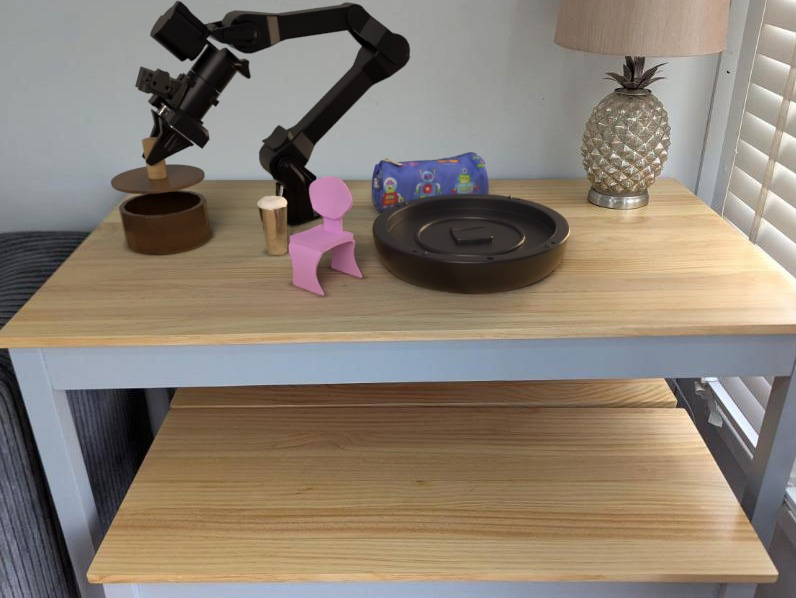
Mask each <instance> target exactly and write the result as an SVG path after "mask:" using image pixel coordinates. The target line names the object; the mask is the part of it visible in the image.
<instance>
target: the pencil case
mask: <svg viewBox="0 0 796 598" xmlns="http://www.w3.org/2000/svg"><path fill="white" fill-rule="evenodd" d="M446 194H490V181H489V174H488V170H487V167H486V162H485V160H484V158H482V156H480V155H478V154H477V153H476V152H474V151H469V152H465V153H462V154H458V155H454V156H450V157H442V158H438V159H425V160H423V159H421V160H419V159H418V160H409V161H408V160H407V161H396V160H392V159H390V158H387V157H384V158H383V159H382V160H379V162H378V163H376V164H375V165H374V169H373V172H372V177H371V201H372V205H373V209H374V210H376V211H377V212H378V213H382V212H384V211H385V210H387V209H389V208H391V207H393V206H395V205H398V204H400V203H403V202H406V201H410V200H414V199H418V198H423V197H429V196H436V195H446Z"/></svg>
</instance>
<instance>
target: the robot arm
mask: <svg viewBox="0 0 796 598" xmlns="http://www.w3.org/2000/svg"><path fill="white" fill-rule="evenodd" d="M346 31H347V32H348V34H350V35H351V37H352V38H353V39H354V40H355V42H357V44H359V45H360V48H359V49H358V51H357V53H356V55H355V59H354V60H353V61H354V62H353V63H352V65H351V67H350V68H349V69H348V70H347V71H346V72H345V73H344V74H343V75H342V76H341V77H340V78H339V80H338V81H337V82H336V83H335V84H334V85H333V86H332V87H330V88H329V90H328V91H327V92H326V93H325V94H324V95H323V96H322V97H321V98H320V99H319V100H318V101H317V102H316V103H315V105H313V106H312V107H311V108H310V109H309V110H308V111H307V113H305V114H304V115H303V117H302V118H301V119H300V120H299V121H298V122H297V123H296V124H294V125H293V126H291V127H288V128H287V129H286V128H285V127H283V126H282V125H280V124H278V125H277V126H276V127H275V128H274V129H273V131H272V132H271V133H270V135H268V136H267V137H266V138H264V139H262V140H261V143H263V144H262V146H261V147H260V149H259V150H258V161H259V164H260V166H261V167H262V169H263V170H264V171H265V172H267V173H268V174H269V175H270V176H271V177H272V180H274V181H276V182H274V184H275V185H274V186H275V196H279V194H280V186H281V185H282V186H283V191H282V197H283V198H285V199H286V201H287V225H290V226H298V225H301V224H304V223H307V222H310V221H313V220H317V219H319V218H321V217H322V215H320V214H319V213H318V212H316V211H315V210H314V209H313V207H312V203H311V199H310V195H309V188H310V185H311V183H312V182H314V181H315V180H317V179H318V178H317V175H315V174H314V173H313V172H312V171H311V170H309V169H308V168H307V167H306V166H307V164H308V163H309V162H310V159H311V156H312V154H313V151H314V149H315V147H316V145H317V144H318V142H319V141H320V140H321V139H323V137H324V136H325V135H327V134H328V132H329V131H330V130H331V129H332V128H333V127H334V126H335V125H336V124H337V123H338V122H339V121H340V120H341V119H342V118H343V117H344V115H345V114H347V113H348V112H349V110H351V108H352V107H353V106H354V105H356V103H357V102H358V101H360V99H361V98H362V97H363V96H364V95H365V94H366V93H367V92H368V91H369V90H370V89H371V88H372V87H373V86H375V85H376V84H378V83H381V82H383V81H385V80H387V79H389V78H391V77H392V76H393V75H395V74H397V73H398V72H399V71H400V70H402V69H403V68H404V67H405V66H406V65H407V64H408V63H409V61H410V59H411V47H410V43H409V42H408V39H407V38H406V37H405V36H404V35H402V34H400V33H396V32H392V31H391V30H390V29H389V28H388V27H386V26H385V25H384V24H383V23H382V22H380V21H379V20H378V19H376V18H375V17H373V16H372V14H370V13H369V12H368V11H367V10H366V9H365V8H364V6H362V5H361V4H358V3H355V2H348V1H346V2H343V3H341V4H335V5H329V6H328V5H327V6H321V7H313V8H307V9H300V10H292V11H284V12H278V13H276V12H265V11H264V12H263V11H254V10H253V11H252V10H237V9H235V10H231V11H228V12H227V13H226V14H224V16H223V18H222V19H221V20H217V21H213V22H208V23H204V22H203V21H202V20H201V19H199V18H198V17H197V16H196V15H195V14H194V13H193V12H192V11H191V10H190V9H189V7H188V6H186V4H185V3H184V2H182V1H181V0H176V1H175V2H174V4H173V5H172V6H171V7H168V9H167V10H166V11H165V12H164V13H163V14H161V15H159V17H158V18H157V20H156V22H155V23H154V24H153V26H152V28H151V30H150V33H149V37H151V38H152V39H153V40H154V41H156V43H158V44H159V45H160V46H161V47H163V48H164V49H165V50H166V51H167V52H169V53H170V54H171V55H173V56H174V57H175V58H176V59H177V60H178V61H180V62H181V63H182V62H185V61H186V60H189V61H190V62H194V63H193V64H192V66H191V67H190V69H189V70H188V71H187V73H185V72H182V73H180V74H178V75H177V77H176V78H174V77H172V76H171V75H170V73H169V72H168V71H166V70H163V69H161V68H156V69H155V70H153V69H151V68H147V67H144V66H139V70H138V74H137V78H136V82H135V84H134V85H135V86H134V87H135V88H137V90H138V91H140V92H141V93H145V94H148V95H149V94H151V96H150V98H149V99H148V100H147V102H148V104H149V105H151V106H152V107H154V108H156V109H157V110H154V109H153V108H151V109H150V112H151V116H152V120H153V125H152V129H151V131H150V135H149V137H157V139H156V141H155V143H154V145H153V147H152V149H151V151H150V153H149V155H148V157H147V159H146V161H145V164H146V163H147V164H149V165H150V166H153V165H154V164H156V163H158V162H160V161H162V160H164V159H165V160H166V159H167V158H170V157H172V156H174V155H176V154H177V153H180V152H181V151H184V150H185V149H188V148H190V147H191V148H192V147H194V145H196V146H197V147H199V148H200V149H204V148H205V147H206V145H207V144H208V142H209V141H210V140H211V139H210V131H209V129H207V128H206V127H205V126H203V125H204V124H205V122H204V121H202V120H203V119H204V118H205V116H206V115H207V113H208V112H209V111H210V109H211V108H212V107H213V106H214V107H215V108H217V106H218V105H219V104H220V100H218V99H219V97H220V96H221V95H222V93H223V92H224V91H225V89H226V88H227V87H228V85H229V84H230V82H231V81H232V80H233V79H234V77H235V76H236V74H237V73H238V74H239V75H240V76H242V77H244V78H245V79H246V80H247V79H248V80H250V79H251V78H252V75H251V71H250V60H249V59H247V58H239V57H238V56H237V55H236V54H235V53H234V52H232V51H231V50H230V49H229V48H228V47H230V48H231V49H234V50H235V51H237V52H239V53H242V54H247V55H251V54H255V53H258V52H261V51H263V50H266V49H269V48H272V47H274V46H275V45H276V44H279V43H281V42H283V41H286V40H292V39H299V38H306V37H310V36H311V37H312V36H319V35H325V34H332V33H339V32H346ZM208 38H210V39H211V40H214V41H216V42H218V43H219V44H223V45H227V46H228V47H223V48H221V49H219V47H217V46H215V44H213V43H212V42H211V41H210V40H208ZM195 60H196V61H195ZM141 158H142V159H143V160H145V156H144V151H143V153H142V154H141Z"/></svg>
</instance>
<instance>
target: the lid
mask: <svg viewBox="0 0 796 598" xmlns="http://www.w3.org/2000/svg"><path fill="white" fill-rule="evenodd" d="M156 139H157V137H150V136H149V137H146V138H145V137H144V138H143V139H141V144H142V149H143V150H142V151H143V152H144V156H145V159H144V160H145V166H142V167H141V166H140V167H137V168H132V169H129V170H125V171H123V172H120V173H118V174H116V175H115V176H113V178H111V180H110V186H111V187H112V188H113V189H114V190H115V191H117V192H121V193H125V194H133V195H141V194H157V193H166V192H172V191H177V190H185V189H188V188H191V187H193V186H196V185H198V184H200V183H202V182H203V181H204V180H205V177H206V174H205V171H204V170H203V169H202V168H200V167H197V166H194V165H188V164H180V163H179V164H176V163H175V164H174V163H173V164H171V163H170V164H167V163H166V159H164V160H162V161H160V162H158V163H156V164H154V165H153V166H150V165H149V164H147V163H146V159H147V157H148V155H149V153H150V151H151V149H152V147H153V145H154V143H155V141H156Z"/></svg>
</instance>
